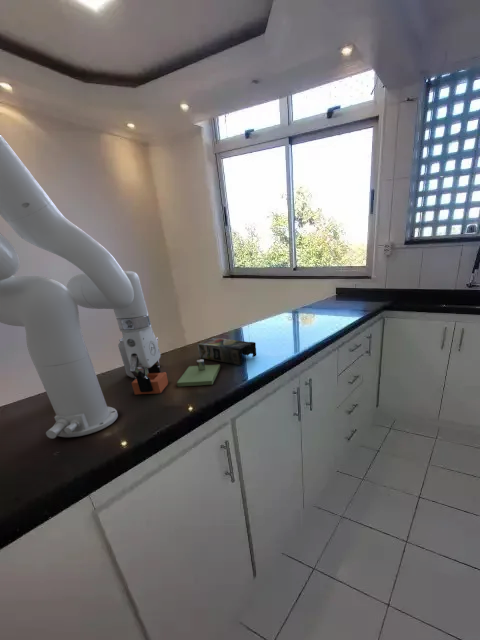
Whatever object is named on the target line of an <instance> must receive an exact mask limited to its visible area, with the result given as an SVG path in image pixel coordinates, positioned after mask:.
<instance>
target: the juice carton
mask: <svg viewBox="0 0 480 640" xmlns="http://www.w3.org/2000/svg"><path fill="white" fill-rule="evenodd" d="M256 345H257V343H256V342H255V341H246V340H245V341H244V340H236V339H226V338H219V337H214V338H213V337H212V338H210V339H209V338H208V339H206V340H204V341H202V342H200V343H197V348H198V349H197V350H198V354H199V355H198V356H199V359H200V360H201V359H202V360H208V361H209V360H210V361H214V362H215V361H216V362H220V363H225V364H231V365H237V366H242V365H243V356H247V357H248V356H249V355H252V358H255V357H257V348H256Z"/></svg>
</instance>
